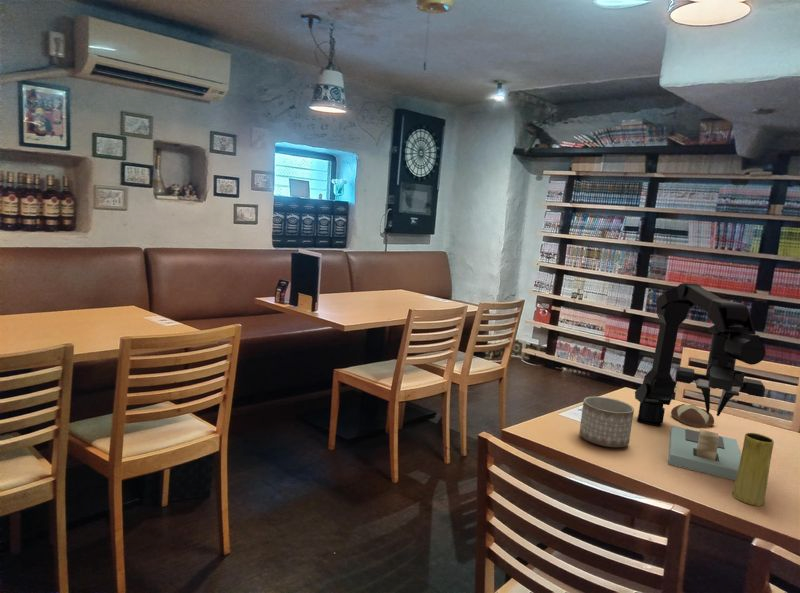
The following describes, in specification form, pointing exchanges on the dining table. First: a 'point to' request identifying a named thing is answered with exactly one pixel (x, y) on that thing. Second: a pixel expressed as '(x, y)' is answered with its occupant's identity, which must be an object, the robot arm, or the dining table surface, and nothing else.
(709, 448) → the maple block
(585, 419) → the planter
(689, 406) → the bread
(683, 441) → the pocket board
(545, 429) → the dining table surface
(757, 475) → the vase
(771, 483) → the dining table surface
